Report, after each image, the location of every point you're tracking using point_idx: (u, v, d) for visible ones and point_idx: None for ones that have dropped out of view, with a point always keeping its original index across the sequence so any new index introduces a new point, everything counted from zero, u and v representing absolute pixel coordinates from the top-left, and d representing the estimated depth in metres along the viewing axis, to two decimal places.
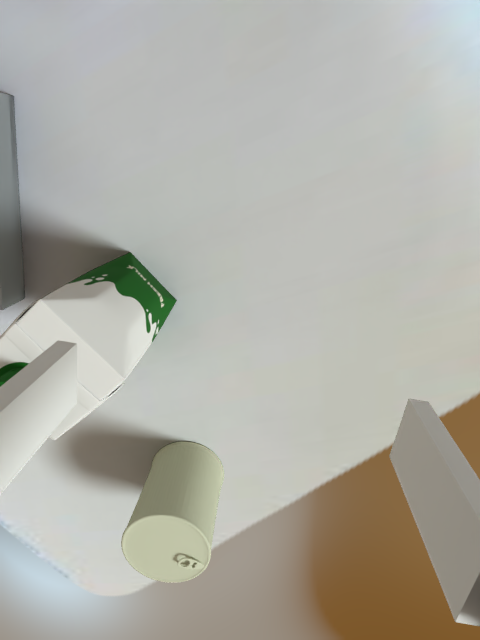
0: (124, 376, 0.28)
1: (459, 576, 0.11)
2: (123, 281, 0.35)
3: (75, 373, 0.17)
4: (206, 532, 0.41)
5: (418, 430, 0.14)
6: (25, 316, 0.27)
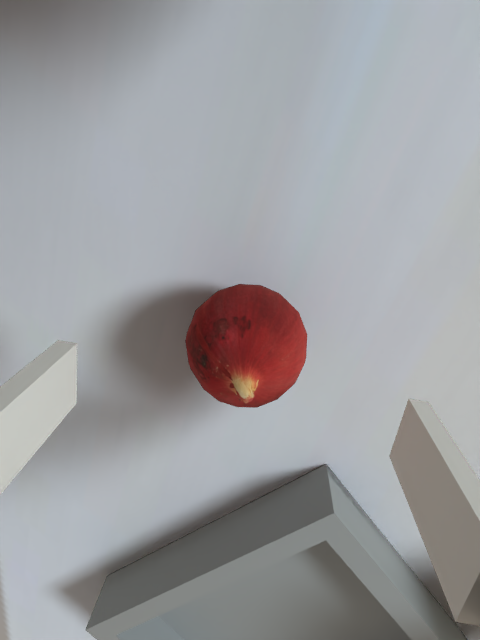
0: None
1: (459, 576, 0.11)
2: None
3: (75, 373, 0.17)
4: None
5: (418, 430, 0.14)
6: None
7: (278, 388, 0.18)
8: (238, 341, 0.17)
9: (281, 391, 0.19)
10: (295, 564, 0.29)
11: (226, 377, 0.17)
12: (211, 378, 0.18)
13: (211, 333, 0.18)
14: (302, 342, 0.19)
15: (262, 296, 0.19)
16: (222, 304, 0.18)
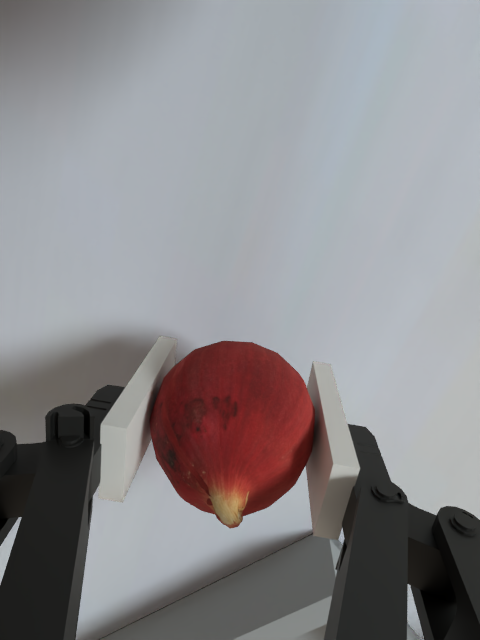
0: None
1: (318, 498, 0.13)
2: None
3: (173, 366, 0.18)
4: None
5: (314, 386, 0.16)
6: None
7: (276, 495, 0.13)
8: (219, 435, 0.12)
9: (281, 495, 0.13)
10: (292, 639, 0.26)
11: (202, 490, 0.12)
12: (181, 485, 0.12)
13: (181, 420, 0.12)
14: (309, 425, 0.14)
15: (254, 363, 0.13)
16: (198, 375, 0.13)
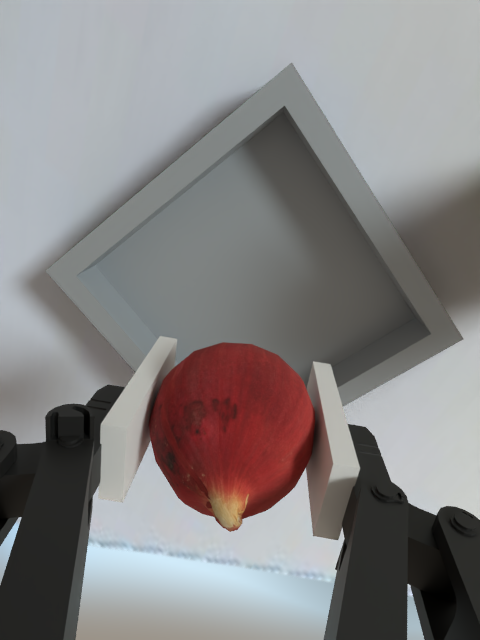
0: None
1: (318, 498, 0.13)
2: None
3: (173, 366, 0.18)
4: None
5: (314, 386, 0.16)
6: None
7: (277, 497, 0.13)
8: (218, 438, 0.12)
9: (281, 498, 0.13)
10: (260, 210, 0.29)
11: (201, 493, 0.12)
12: (180, 487, 0.12)
13: (180, 422, 0.12)
14: (309, 427, 0.13)
15: (254, 364, 0.13)
16: (198, 377, 0.13)
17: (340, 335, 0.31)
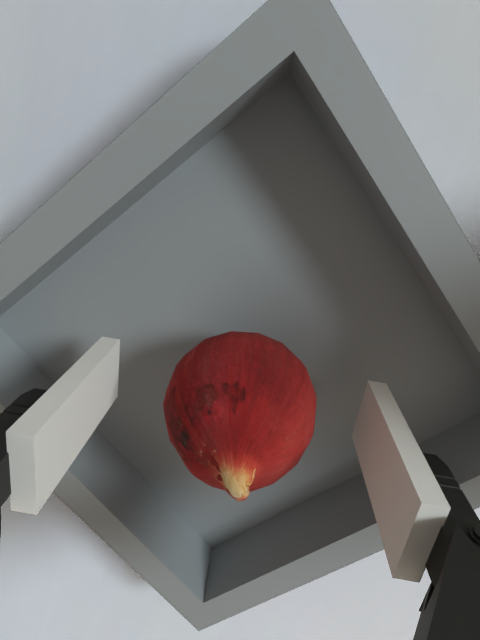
0: None
1: (397, 536, 0.12)
2: None
3: (117, 367, 0.17)
4: None
5: (373, 408, 0.15)
6: None
7: (281, 473, 0.14)
8: (228, 418, 0.13)
9: (284, 474, 0.15)
10: (252, 239, 0.18)
11: (213, 467, 0.13)
12: (193, 462, 0.14)
13: (194, 404, 0.14)
14: (311, 409, 0.15)
15: (261, 352, 0.14)
16: (209, 362, 0.14)
17: None
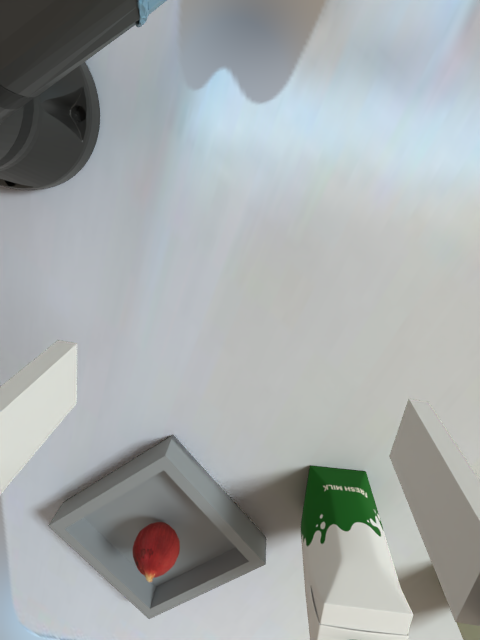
0: (410, 611, 0.35)
1: (459, 576, 0.11)
2: (337, 514, 0.44)
3: (75, 373, 0.17)
4: None
5: (418, 430, 0.14)
6: (322, 617, 0.36)
7: (164, 572, 0.51)
8: (148, 559, 0.49)
9: None
10: (162, 491, 0.54)
11: (143, 573, 0.49)
12: (139, 570, 0.50)
13: (139, 554, 0.50)
14: (174, 553, 0.51)
15: (159, 537, 0.51)
16: (144, 540, 0.51)
17: (211, 546, 0.57)
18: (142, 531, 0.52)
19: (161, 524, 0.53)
